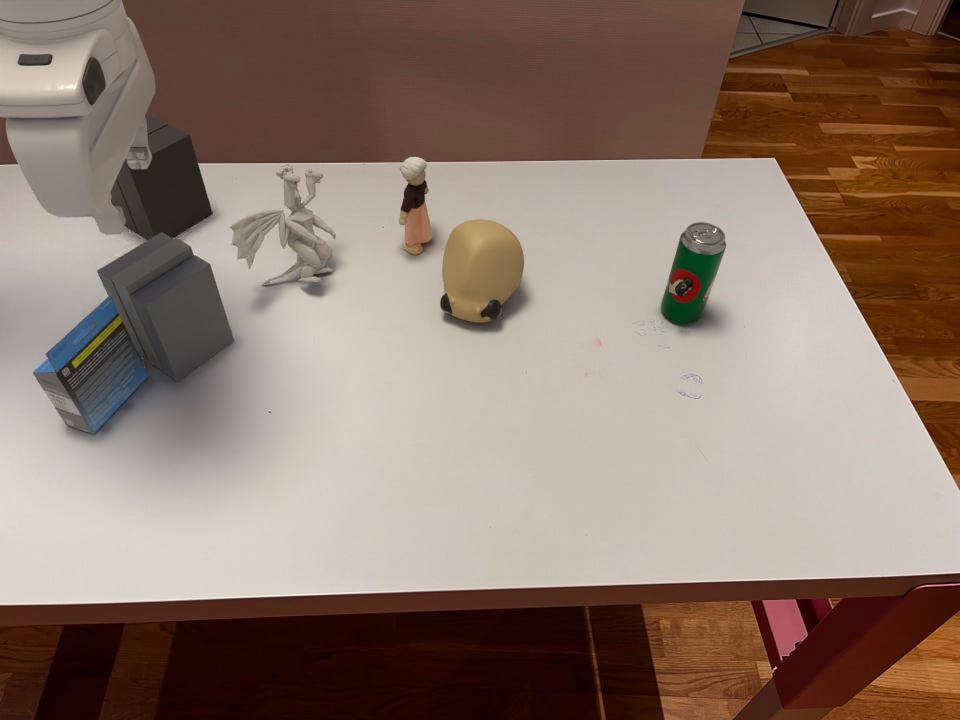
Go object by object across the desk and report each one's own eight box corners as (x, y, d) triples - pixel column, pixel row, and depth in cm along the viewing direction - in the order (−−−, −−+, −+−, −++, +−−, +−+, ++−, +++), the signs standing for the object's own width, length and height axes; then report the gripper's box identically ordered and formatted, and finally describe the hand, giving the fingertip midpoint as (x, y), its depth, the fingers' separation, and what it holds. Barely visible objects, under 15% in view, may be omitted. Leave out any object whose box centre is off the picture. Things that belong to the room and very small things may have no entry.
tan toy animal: (443, 311, 95) (415, 310, 84) (463, 218, 93) (437, 206, 83) (517, 328, 92) (497, 330, 82) (538, 233, 91) (521, 223, 81)
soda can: (705, 327, 89) (733, 248, 80) (663, 326, 89) (687, 247, 80) (697, 298, 92) (723, 220, 83) (656, 297, 92) (678, 219, 83)
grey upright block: (134, 351, 84) (94, 266, 74) (190, 312, 88) (160, 228, 79) (178, 382, 81) (142, 298, 72) (234, 340, 85) (207, 256, 76)
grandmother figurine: (426, 261, 96) (423, 177, 86) (397, 257, 96) (391, 173, 87) (437, 225, 101) (436, 142, 91) (410, 222, 101) (405, 139, 92)
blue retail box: (121, 366, 82) (80, 282, 73) (151, 376, 81) (112, 293, 72) (64, 425, 77) (11, 342, 67) (94, 436, 76) (45, 354, 67)
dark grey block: (119, 222, 99) (86, 143, 90) (173, 191, 104) (147, 113, 95) (158, 246, 96) (128, 166, 87) (213, 213, 101) (189, 134, 92)
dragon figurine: (232, 305, 85) (197, 185, 80) (296, 261, 101) (270, 159, 96) (310, 298, 83) (279, 174, 78) (363, 254, 99) (340, 149, 94)
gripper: (66, -19, 61) (122, 132, 71) (-31, 108, 47) (55, 272, 57) (145, -19, 61) (189, 131, 72) (71, 107, 48) (138, 270, 58)
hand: (129, 195), depth 64 cm, fingers open, 8 cm apart
